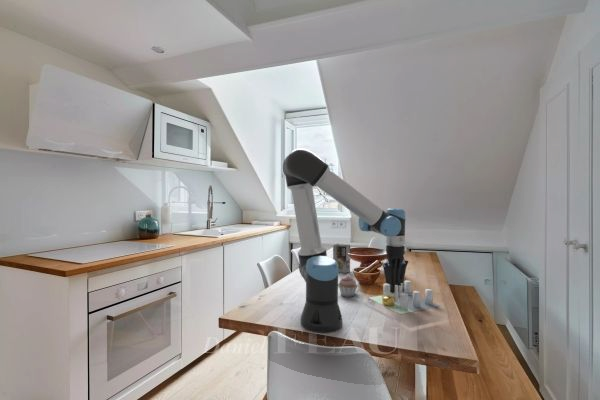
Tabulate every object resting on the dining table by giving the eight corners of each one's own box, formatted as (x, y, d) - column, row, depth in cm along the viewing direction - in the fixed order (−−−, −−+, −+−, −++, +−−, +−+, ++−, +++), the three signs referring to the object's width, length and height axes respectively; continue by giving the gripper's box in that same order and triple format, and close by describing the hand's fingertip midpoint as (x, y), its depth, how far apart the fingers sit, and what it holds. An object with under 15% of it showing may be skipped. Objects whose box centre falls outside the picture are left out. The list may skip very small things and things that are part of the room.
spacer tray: (400, 316, 116) (400, 298, 115) (368, 299, 134) (368, 284, 134) (440, 308, 125) (441, 291, 125) (405, 293, 143) (405, 279, 143)
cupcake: (342, 290, 146) (342, 270, 146) (360, 294, 141) (360, 273, 141) (334, 296, 138) (334, 274, 138) (353, 300, 133) (353, 277, 133)
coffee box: (350, 271, 183) (350, 245, 183) (346, 273, 178) (346, 246, 178) (336, 269, 188) (337, 243, 188) (332, 271, 183) (332, 245, 182)
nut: (387, 307, 123) (387, 299, 122) (379, 303, 127) (379, 295, 127) (397, 305, 125) (397, 298, 124) (389, 301, 129) (389, 294, 129)
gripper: (389, 247, 120) (388, 305, 121) (413, 245, 126) (412, 300, 126) (377, 244, 127) (376, 299, 128) (400, 242, 133) (399, 295, 133)
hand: (394, 300), depth 127 cm, fingers closed
